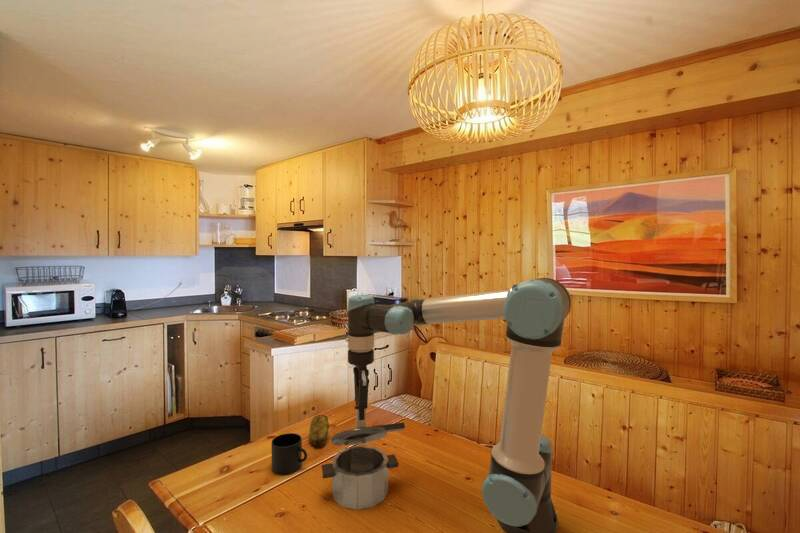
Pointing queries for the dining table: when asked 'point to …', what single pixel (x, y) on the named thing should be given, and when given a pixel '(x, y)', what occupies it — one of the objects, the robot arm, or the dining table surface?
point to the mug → (287, 453)
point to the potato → (319, 430)
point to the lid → (365, 434)
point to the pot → (359, 476)
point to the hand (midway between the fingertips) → (360, 428)
